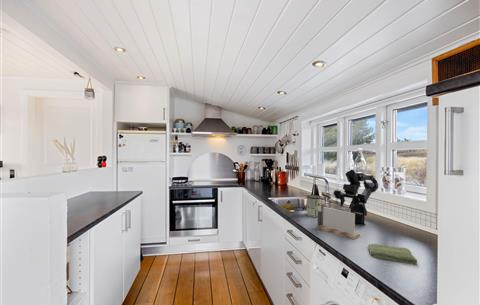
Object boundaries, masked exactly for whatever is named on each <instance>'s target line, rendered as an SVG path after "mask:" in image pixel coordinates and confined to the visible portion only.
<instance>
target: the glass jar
mask: <svg viewBox="0 0 480 305" xmlns="http://www.w3.org/2000/svg"><path fill="white" fill-rule="evenodd" d="M321 202H322V196H321V195H316V194H308V195H306V213H305V214H306V216H308V217H313V218H318V211H320V210H321V211H322V203H321Z"/></svg>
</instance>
